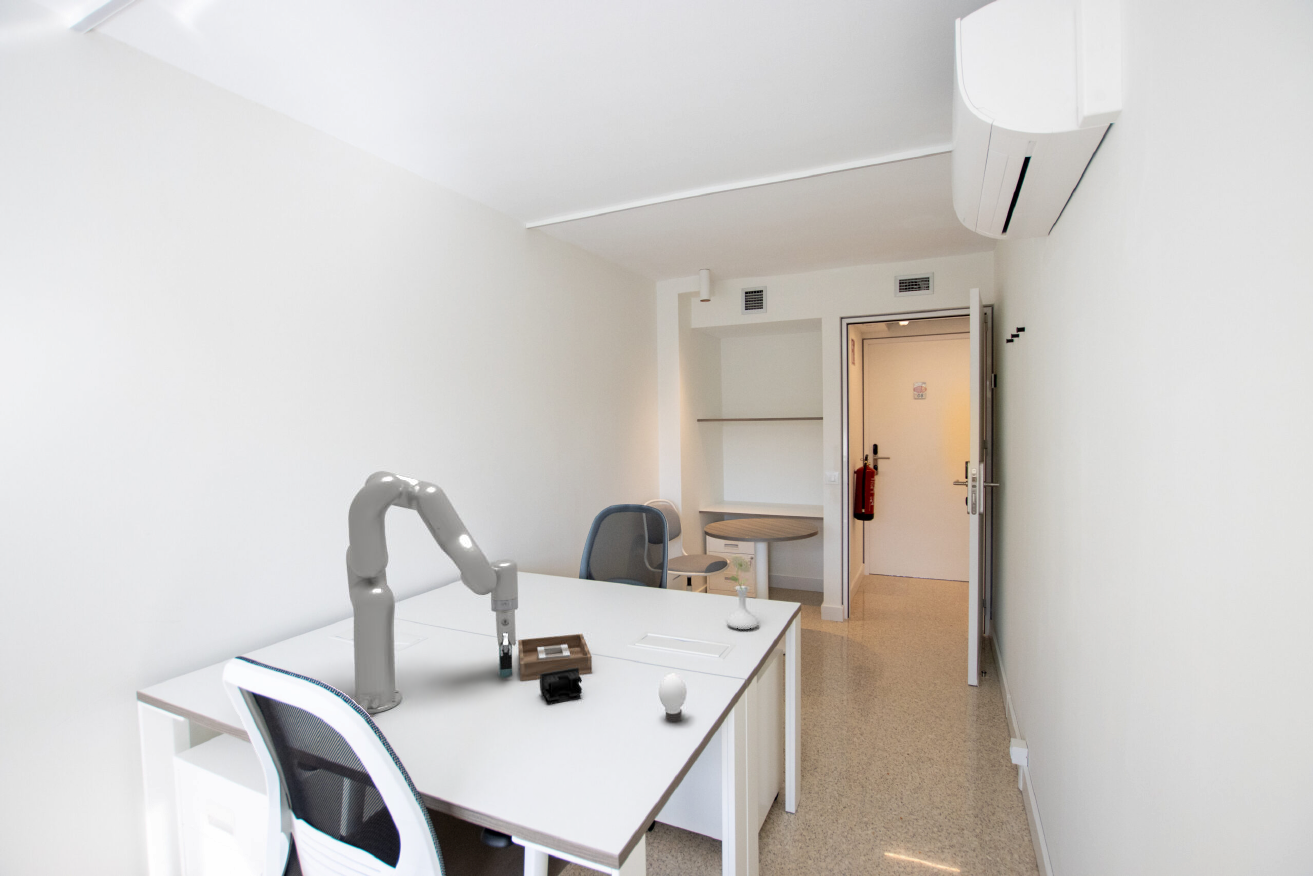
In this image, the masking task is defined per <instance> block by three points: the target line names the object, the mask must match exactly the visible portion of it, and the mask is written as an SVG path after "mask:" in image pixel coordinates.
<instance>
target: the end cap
mask: <svg viewBox="0 0 1313 876" xmlns="http://www.w3.org/2000/svg"><path fill="white" fill-rule="evenodd" d="M582 680H583V679H582V677H581V675H579V668H577V667H576V668H570V669H564V670H558V671H552V672H546V673H541V675H540V679H539V690H540V695H541V696H542V698H543V699H544V702H545V703H546V705H547V706H551V705H556V704H563V703H567V702H572V701H578V700H582V690H583V688H582V687H581V685H580V684H581V683H582Z"/></svg>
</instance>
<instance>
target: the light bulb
mask: <svg viewBox="0 0 1313 876" xmlns="http://www.w3.org/2000/svg"><path fill="white" fill-rule="evenodd" d="M658 696H659V700H660V702H661V703H660V704H661V705H662V706H663V707H664V711H665V720H666V721H667V722H669V723H679V722H681V721H682V718H683V715H682V714H683V713H682V712H683V711H682V710H683V709H682V708H681V707H683V705H684V704H685V701H686V699H687V686H686V682H685V681H684V679H683V678H682V677H681V676H680V675H679V674H677V673H672V672H671V673H668V674H666V675H665V676H664V677H663V678H662V679H661V681H660V683H659V686H658Z"/></svg>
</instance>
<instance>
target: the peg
mask: <svg viewBox="0 0 1313 876" xmlns="http://www.w3.org/2000/svg"><path fill="white" fill-rule="evenodd" d="M502 644H504V643H502ZM508 644H509V643H508ZM508 648H509V647H508ZM511 654H512V655H513V645H511ZM500 655H501V646H500V647H499V646H498V657H499V658H498V666H499V667H498V668H499V670H498V671H499V673H498V674H499V677H501V678H508V677H511V676H512V675H513V668H512V669H505V670H501V669H500Z"/></svg>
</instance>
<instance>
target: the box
mask: <svg viewBox="0 0 1313 876" xmlns="http://www.w3.org/2000/svg"><path fill="white" fill-rule="evenodd" d="M517 646H518V647H517V648H518V652H517V653H518V664H519V665H518V666H519V676H520V682H527V681H534V680H535V681H536V680H540V675H541V673H546V672H552V671H558V670H564V669H570V668H576V667H577V668H579V675H580V676H581V675H590V674H592V673H593V671H592V669H593V668H592V666H593V665H592V659H593V658H592V654H591V651H590V650H589V649H590V648H589V647H588V644H587V642H586V639H585V636H584V634H583V633H577V634H567V635H566V634H565V635H556V636H555V635H554V636H546V637H545V636H544V637H536V638H535V637H533V638H526V639H525V638H524V639H518V641H517Z"/></svg>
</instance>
